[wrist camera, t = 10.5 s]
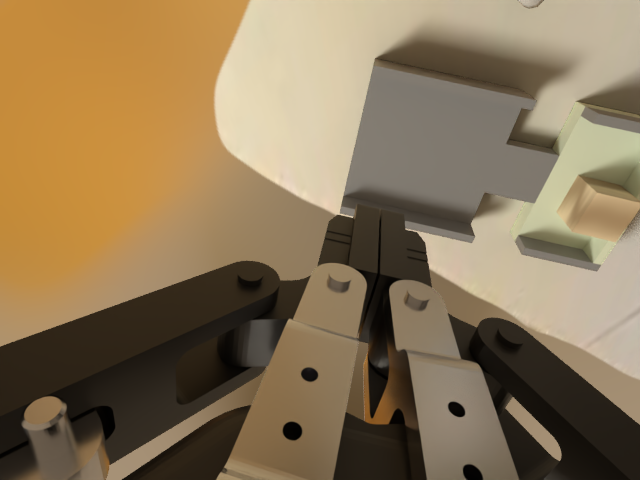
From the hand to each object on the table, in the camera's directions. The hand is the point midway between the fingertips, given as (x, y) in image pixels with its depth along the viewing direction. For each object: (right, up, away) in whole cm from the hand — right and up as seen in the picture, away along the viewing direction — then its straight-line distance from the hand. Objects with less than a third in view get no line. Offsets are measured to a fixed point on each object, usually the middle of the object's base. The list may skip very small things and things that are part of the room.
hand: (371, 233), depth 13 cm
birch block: (+24, +4, +26) cm, 35 cm away
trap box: (+15, +8, +27) cm, 32 cm away
